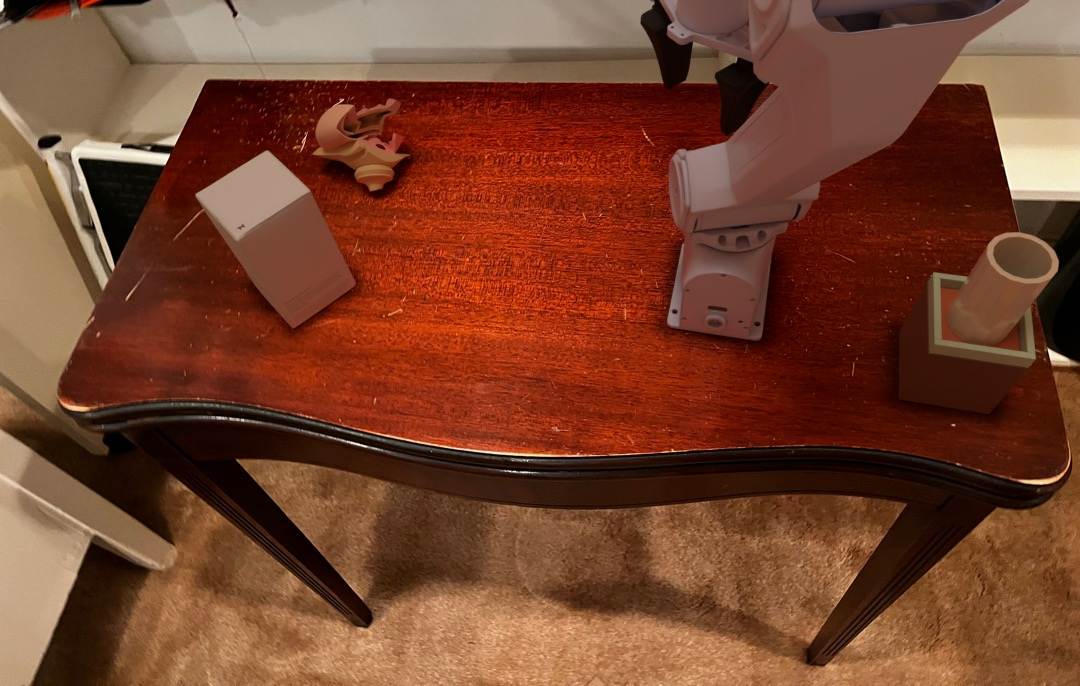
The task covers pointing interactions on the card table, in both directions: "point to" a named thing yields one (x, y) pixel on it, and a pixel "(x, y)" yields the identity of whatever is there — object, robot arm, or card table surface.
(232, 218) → the white packaging box
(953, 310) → the beige hollow cylinder
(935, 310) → the holder
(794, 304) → the card table surface
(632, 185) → the card table surface
